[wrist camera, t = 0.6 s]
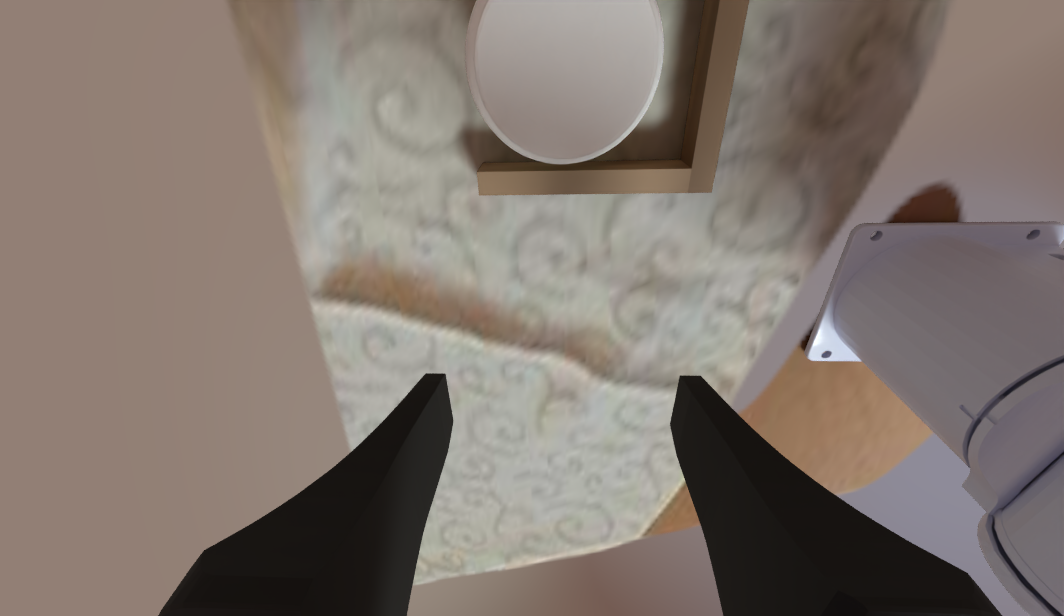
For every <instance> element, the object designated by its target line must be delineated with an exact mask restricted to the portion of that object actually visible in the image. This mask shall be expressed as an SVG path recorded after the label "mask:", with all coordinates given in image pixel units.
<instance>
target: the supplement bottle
mask: <svg viewBox="0 0 1064 616" xmlns="http://www.w3.org/2000/svg"><path fill="white" fill-rule="evenodd" d="M663 54H664V36H663V26H662V21H661V15H660V12H659V8H658V5H657V2H656V0H476V2H475V5H474V7H473V10H472V13H471V17H470V20H469V24H468V29H467V35H466V45H465V60H466V72H467V77H468V83H469V87H470V90H471V93H472V96H473V99H474V101H475V104H476V106H477V108H478V110H479V112H480V114H481V115H482V117H483V119H484V121H485V122H486V123H487V125H488V126H489V127H490V128H491V130H492V131H493V132H494V133H495V134H496V135H497V136H498V137H499V138H500V139H501V141H503V142H504V143H505V144H506V145H507V146H509V147H510V148H511V149H513V150H514V151H516V152H518V153H519V154H521V155H523V156H526V157H528V158H530V159H533V160H537V161H540V162H544V163H549V164H572V163H578V162H583V161H587V160H589V159H592V158H595V157H597V156H599V155H602V154H604V153H605V152H607V151H609V150H610V149H612V148H613V147H615V146H616V145H618V144H619V143H620V142H621V141H622V140H623V139H624V138H625V137H627V136H628V135H629V134H630V133H631V131H632V130H633V129H634V128H635V127H636V126H637V124H638V123H639V122H640V120H641V119H642V117H643V116H644V114H645V113H646V111H647V109H648V107H649V106H650V103H651V101H652V99H653V97H654V94H655V92H656V89H657V86H658V83H659V79H660V75H661V70H662V65H663Z"/></svg>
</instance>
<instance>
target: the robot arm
mask: <svg viewBox="0 0 1064 616" xmlns="http://www.w3.org/2000/svg"><path fill="white" fill-rule="evenodd" d="M875 231H877V233H876V235H875V236H873V237H872V238H870V237H871V235H872V233H874V232H875ZM1029 232H1030V234H1029ZM1063 239H1064V224H1063V223H1060V222H956V223H864V224H860V225H858V226H856V227H855V228H854V229H853V230H852V231H851V233H850V235H849V238H848V240H847V243H846V245H845V248H844V251H843V253H842V256H841V258H840V261H839V264H838V266H837V269H836V271H835V274H834V276H833V279H832V282H831V284H830V287H829V290H828V292H827V295H826V297H825V300H824V302H823V305H822V307H821V310H820V313H819V315H818V318H817V320H816V323H815V326H814V328H813V331H812V333H811V336H810V339H809V341H808V344H807V346H806V349H805V355H806V357H807V358H808V359H809V360H812V361H862V362H863V363H864V364H865V365H866V366H867V367H868V368H869V369H870V370H871V371H872V372H873V373H874V374H875V375H876V376H877V377H878V378H879V379H880V380H881V381H883V382H884V383H885V384H886V385H887V386H888V387H889V388H890V389H891V390H892V391H893V392H894V393H895V394H896V395H897V396H898V397H899V398H900V399H901V400H902V401H903V402H904V403H905V404H906V405H907V406H908V407H909V408H910V409H911V410H912V411H913V412H914V413H915V414H916V415H917V416H918V417H919V418H920V419H921V420H922V421H923V422H924V423H925V424H926V425H927V426H928V427H929V428H930V429H931V430H932V431H933V432H934V433H935V434H936V435H937V436H938V437H939V438H940V439H941V440H942V441H943V442H944V443H945V444H946V445H947V446H948V447H949V448H950V449H951V450H952V451H953V452H954V453H955V454H956V455H957V456H958V457H959V458H960V459H961V460H962V461H963V462H964V463H965V464H966V465H967V466H968V467H969V468H970V474H969V476H968V478H967V480H965V482H964V483H963V484H962V487H963V488H964V489H965V490H966V491H967V492H968V493H969V494H970V495H971V496H972V497H973V498H974V499H975V500H976V501H977V502H978V503H979V505H980V506H982V508H983V509H984V510H985V511H986V512H987V513H986V514H985V515H984V516H983V517H982V518H981V520H980V522H979V524H978V533H977V535H978V540H979V545H980V548H981V550H982V552H983V554H984V557H985V559H986V561H987V562H988V564H989V566H990V567H991V569H992V570H993V572H994V574H995V575H996V576H997V578H998V579H999V581H1000V582H1001V583H1002V585H1003V586H1004V587H1005V588H1006V590H1007V591H1008V592H1009V593H1010V595H1011V596H1012V597H1013V598H1014V599H1015V601H1016V602H1017V603H1018V604H1019V605H1020V607H1021V608H1022V609H1023V610H1024V611H1025V612H1026V613H1027V614H1028V615H1029V616H1064V248H1062V247H1059V245H1060V244H1061V242H1062V241H1063ZM825 351H827V352H825ZM823 352H825V353H823ZM822 353H823V354H822ZM452 426H453V416H452V410H451V404H450V398H449V392H448V386H447V380H446V375H445V374H425V375H424V376H423V377H422V378H421V379H420V381H419V382H418V383H417V384H416V385H415V386H414V387H413V389H412V390H411V391H410V392H409V393H408V394H407V396H406V397H405V398H404V399H403V400H402V401H401V402H400V403H399V405H398V406H397V407H396V408H395V409H394V410H393V411H392V412H391V413H390V414H389V415H388V416H387V418H386V419H385V420H384V421H383V422H382V423H381V424H380V425H379V426H378V427H377V428H376V429H375V430H374V431H373V432H372V433H371V434H370V435H369V436H368V437H367V438H366V439H365V440H364V441H363V442H362V443H361V444H359V445H358V446H357V447H356V448H355V449H354V450H353V451H352V452H351V453H350V454H348V455H347V456H346V457H345V458H344V459H343V460H341V461H340V462H339V463H338V464H337V465H336V466H334V467H333V468H332V469H331V470H329V471H328V472H327V473H326V474H324V475H323V476H322V477H320V478H319V479H317V480H316V481H315V482H313V483H312V484H311V485H309V486H308V487H307V488H305V489H304V490H303V491H301V492H300V493H298V494H297V495H296V496H294V497H293V498H291V499H290V500H288V501H287V502H285V503H284V504H282V505H281V506H279V507H278V508H276V509H274V510H273V511H271V512H270V513H268V514H267V515H265V516H263V517H262V518H260V519H259V520H257V521H255V522H254V523H252V524H250V525H249V526H247V527H245V528H243V529H242V530H240V531H238V532H236V533H235V534H233V535H231V536H229V537H228V538H226V539H224V540H222V541H220V542H219V543H217V544H215V545H213V546H211V547H209V548H208V549H206V550H204V551H203V553H202V554H201V555H200V556H199V558H198V559H197V561H196V562H195V563H194V564H193V566H192V567H191V568H190V570H189V571H188V573H187V574H186V576H185V577H184V579H183V580H182V581H181V583H180V584H179V586H178V587H177V589H176V590H175V591H174V593H173V594H172V596H171V597H170V599H169V600H168V602H167V603H166V604H165V606H164V607H163V609H162V610H161V612H160V614H159V615H158V616H407V611H408V604H409V600H410V595H411V589H412V584H413V579H414V574H415V569H416V564H417V559H418V555H419V550H420V545H421V540H422V536H423V532H424V528H425V524H426V521H427V517H428V514H429V511H430V508H431V504H432V501H433V498H434V495H435V492H436V488H437V485H438V482H439V479H440V476H441V472H442V469H443V466H444V463H445V459H446V456H447V453H448V448H449V443H450V438H451V432H452ZM670 426H671V431H672V436H673V441H674V445H675V450H676V454H677V458H678V461H679V464H680V467H681V469H682V472H683V475H684V478H685V481H686V484H687V487H688V490H689V492H690V495H691V498H692V501H693V504H694V507H695V510H696V512H697V515H698V518H699V521H700V524H701V527H702V530H703V533H704V537H705V540H706V543H707V547H708V551H709V555H710V559H711V564H712V568H713V572H714V576H715V580H716V585H717V589H718V593H719V598H720V602H721V607H722V611H723V616H1002V615H1001V614H1000V613H999V611H998V610H997V609H996V608H995V606H994V605H993V604H992V603H991V601H990V600H989V599H988V598H987V596H986V595H985V594H984V593H983V591H982V590H981V589H980V588H979V586H978V585H977V584H976V583H975V581H974V580H973V579H972V578H971V577H970V576H969V575H968V573H966V572H964V571H963V570H961V569H959V568H957V567H955V566H953V565H952V564H950V563H948V562H946V561H944V560H942V559H940V558H938V557H937V556H935V555H933V554H931V553H929V552H927V551H926V550H923V549H922V548H920V547H918V546H916V545H914V544H912V543H911V542H909V541H907V540H905V539H904V538H902V537H900V536H899V535H897V534H895V533H894V532H892V531H890V530H889V529H887V528H885V527H884V526H882V525H880V524H879V523H877V522H875V521H874V520H872V519H871V518H869V517H867V516H866V515H864V514H862V513H861V512H859V511H858V510H856V509H855V508H853V507H852V506H850V505H849V504H847V503H846V502H845V501H843V500H842V499H840V498H839V497H837V496H836V495H834V494H833V493H831V492H830V491H828V490H827V489H826V488H824V487H823V486H821V485H820V484H819V483H817V482H816V481H815V480H813V479H812V478H811V477H809V476H808V475H807V474H805V473H804V472H803V471H802V470H800V469H799V468H798V467H796V466H795V465H794V464H792V463H791V462H790V461H789V460H788V459H786V458H785V457H784V456H783V455H782V454H780V453H779V452H778V451H777V450H776V449H775V448H773V447H772V446H771V445H770V444H769V443H768V442H767V441H766V440H764V439H763V438H762V437H761V436H760V435H759V434H758V433H757V432H756V431H755V430H753V429H752V428H751V427H750V426H749V425H748V424H747V423H746V422H745V421H744V420H743V419H742V418H741V417H740V416H739V415H738V414H737V413H736V412H735V411H734V410H733V409H732V408H731V407H730V406H729V405H728V404H727V403H726V402H725V401H724V400H723V399H722V398H721V397H720V396H719V394H718V393H717V392H716V391H715V390H714V389H713V388H712V387H711V386H710V385H709V384H708V383H707V382H706V381H705V380H704V379H703V378H702V377H701V376H680V378H679V383H678V388H677V393H676V398H675V403H674V408H673V412H672V417H671V422H670Z"/></svg>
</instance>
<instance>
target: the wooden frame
mask: <svg viewBox="0 0 1064 616" xmlns="http://www.w3.org/2000/svg"><path fill="white" fill-rule="evenodd" d="M748 4H749V0H705V1H704V8H703V14H702V21H701V28H700V34H699V41H698V47H697V54H696V60H695V67H694V74H693V80H692V87H691V93H690V100H689V107H688V113H687V120H686V126H685V133H684V140H683V146H682V153H681V159H680V160H621V161H583V162H578V163H572V164H549V163H544V162H499V163H483V164H482V165H481V167H480V168H479V170H478V171H477V178H478V189H479V195H548V194H628V193H708V192H712V187H713V182H714V177H715V172H716V167H717V162H718V157H719V152H720V147H721V142H722V137H723V131H724V126H725V121H726V116H727V111H728V106H729V101H730V96H731V91H732V86H733V80H734V75H735V70H736V65H737V60H738V55H739V50H740V45H741V40H742V35H743V29H744V24H745V19H746V14H747V9H748Z"/></svg>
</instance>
